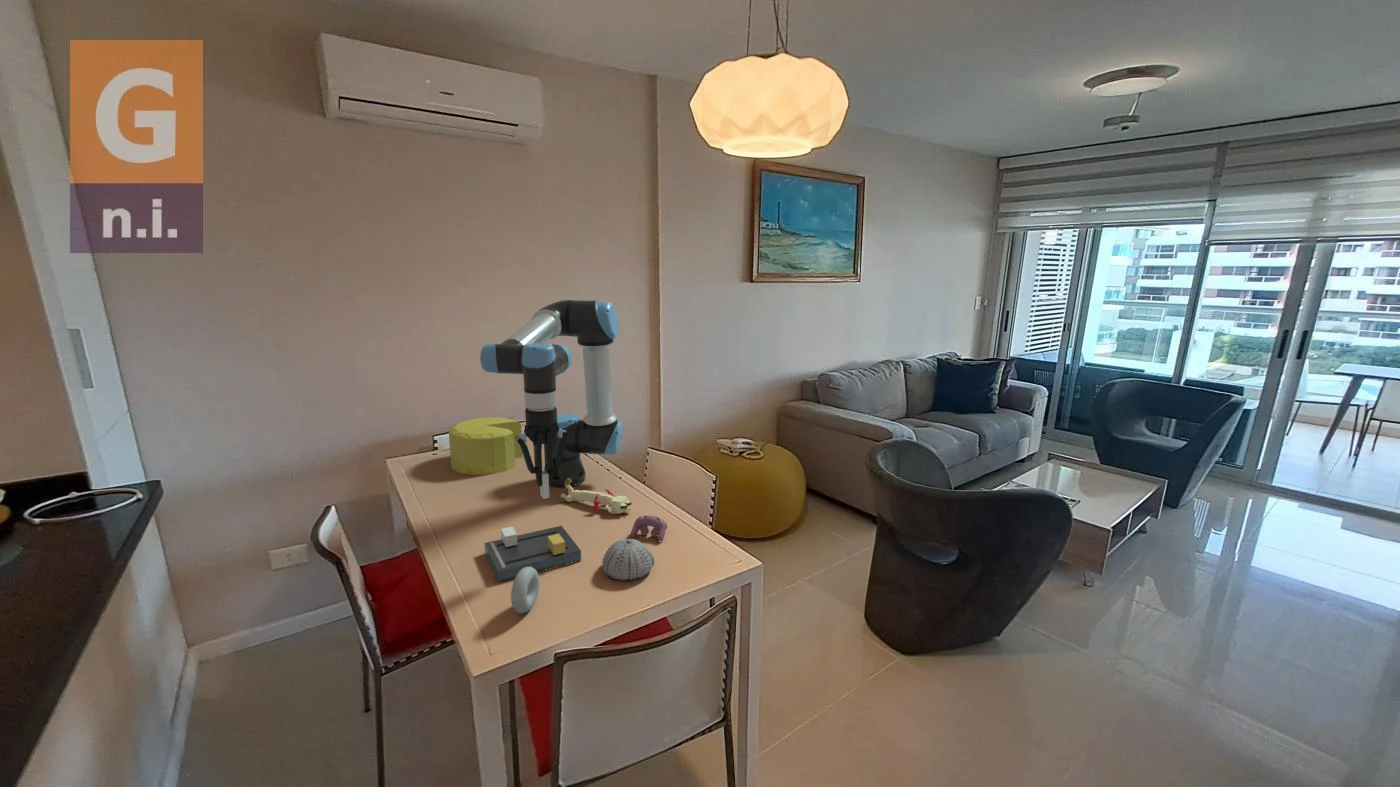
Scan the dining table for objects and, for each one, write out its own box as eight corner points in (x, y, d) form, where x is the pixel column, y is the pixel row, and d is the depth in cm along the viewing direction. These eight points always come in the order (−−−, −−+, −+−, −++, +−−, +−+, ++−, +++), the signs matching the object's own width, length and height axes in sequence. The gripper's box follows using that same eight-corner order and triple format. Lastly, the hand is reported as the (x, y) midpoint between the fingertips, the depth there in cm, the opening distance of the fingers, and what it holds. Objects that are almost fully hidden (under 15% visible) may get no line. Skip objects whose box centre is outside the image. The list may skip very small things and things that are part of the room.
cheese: (537, 462, 217) (535, 425, 214) (473, 481, 198) (470, 440, 194) (501, 446, 234) (499, 412, 230) (438, 462, 214) (435, 425, 211)
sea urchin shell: (592, 578, 140) (591, 549, 139) (617, 552, 153) (617, 525, 151) (639, 589, 136) (639, 560, 134) (662, 562, 148) (662, 535, 147)
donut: (528, 595, 132) (526, 557, 130) (542, 597, 132) (540, 558, 129) (509, 622, 123) (506, 581, 120) (524, 623, 122) (522, 582, 120)
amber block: (559, 543, 150) (558, 533, 149) (565, 552, 146) (564, 541, 145) (548, 546, 148) (547, 536, 147) (553, 555, 144) (553, 544, 143)
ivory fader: (512, 536, 153) (512, 526, 152) (517, 544, 149) (516, 534, 148) (501, 539, 151) (500, 528, 151) (505, 547, 147) (505, 536, 147)
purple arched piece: (665, 543, 161) (669, 518, 163) (660, 543, 157) (665, 518, 159) (634, 537, 164) (638, 513, 166) (628, 537, 160) (632, 512, 161)
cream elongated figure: (556, 508, 181) (622, 519, 171) (553, 483, 179) (620, 492, 169) (575, 497, 190) (639, 506, 179) (573, 473, 188) (637, 481, 178)
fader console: (561, 535, 161) (561, 525, 160) (581, 560, 148) (580, 550, 147) (485, 553, 150) (484, 542, 150) (498, 582, 137) (497, 571, 136)
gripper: (561, 400, 144) (564, 486, 150) (509, 406, 137) (515, 496, 143) (571, 407, 138) (574, 496, 143) (517, 414, 131) (522, 507, 137)
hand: (544, 496), depth 143 cm, fingers closed
